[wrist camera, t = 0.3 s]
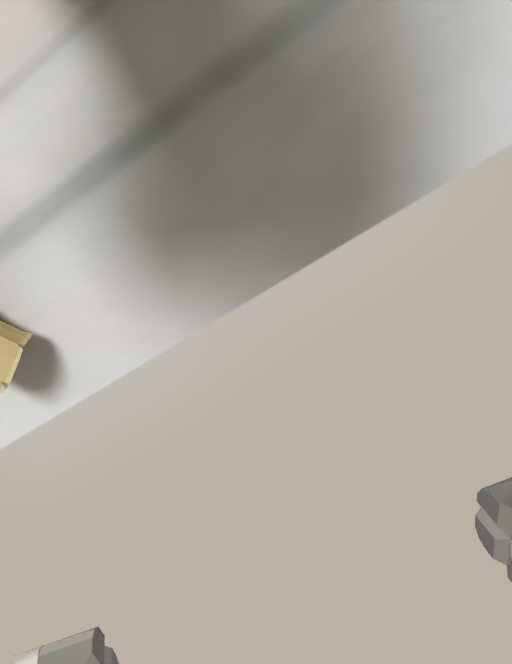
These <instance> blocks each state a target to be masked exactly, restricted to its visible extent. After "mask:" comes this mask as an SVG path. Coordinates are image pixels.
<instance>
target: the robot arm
mask: <svg viewBox="0 0 512 664" xmlns="http://www.w3.org/2000/svg"><path fill="white" fill-rule="evenodd" d="M477 502H478V503H479V504H480V506H481V508H480V509H479V511H478V512H477V513H476V515H475V527H476V530H477V533H478V536H479V539H480V541H481V542H482V544H483V546H484V547H485V549H486V550H487V551H488V553H489V554H490V555H491V557H492V558H493V559H495V560H497V561H499V562H501V563H503V564H505V565H507V575H508V578H509V579H510V581H511V582H512V477H511V478H509V479H506V480H503V481H501V482H498V483H496V484H493V485H490V486H488V487H485V488H482V489H481V490H480V491H479V492H478V493H477ZM11 664H119V663H118V660H117V657H116V654H115V653H114V651H113V649H112V648H110V647H107V646H104V634H103V633H102V631H101V630H100V628H99V627H96V628H93V629H90V630H87V631H84V632H81V633H78V634H76V635H73V636H70V637H67V638H64V639H61V640H58V641H56V642H53V643H50V644H47V645H43V646H40V647H37V648H35V649H32V650H29V651H26V652H24V653H21V654H18V655H15V656H14V658H13V660H12V663H11Z"/></svg>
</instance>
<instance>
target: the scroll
mask: <svg viewBox="0 0 512 664" xmlns="http://www.w3.org/2000/svg"><path fill="white" fill-rule="evenodd" d="M32 336H33V333H30V332H25V331H22V330H20V329H18V328H15V327H13V326H11V325H9V324H6V323H4V322H2V321H0V393H1V392H3V391H4V390H5V389H6V388H7V386H8V385H7V384H6V383H9V384H10V382H11V379H12V377H13V374H14V372H15V370H16V367H17V365H18V362H19V360H20V357H21V354H22V351H23V349H22V347H24V346H25V344H26V343H27V341H28V340H29V339H30V338H32Z"/></svg>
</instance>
